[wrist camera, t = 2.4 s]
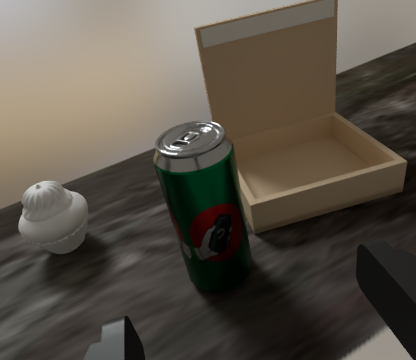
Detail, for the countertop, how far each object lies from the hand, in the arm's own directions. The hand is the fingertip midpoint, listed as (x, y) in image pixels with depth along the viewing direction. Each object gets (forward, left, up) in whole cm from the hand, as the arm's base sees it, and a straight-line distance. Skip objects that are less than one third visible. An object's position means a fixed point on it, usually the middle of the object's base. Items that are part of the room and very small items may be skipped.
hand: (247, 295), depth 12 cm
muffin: (-13, +20, -11) cm, 27 cm away
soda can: (0, +12, -11) cm, 16 cm away
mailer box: (+11, +20, -11) cm, 26 cm away
